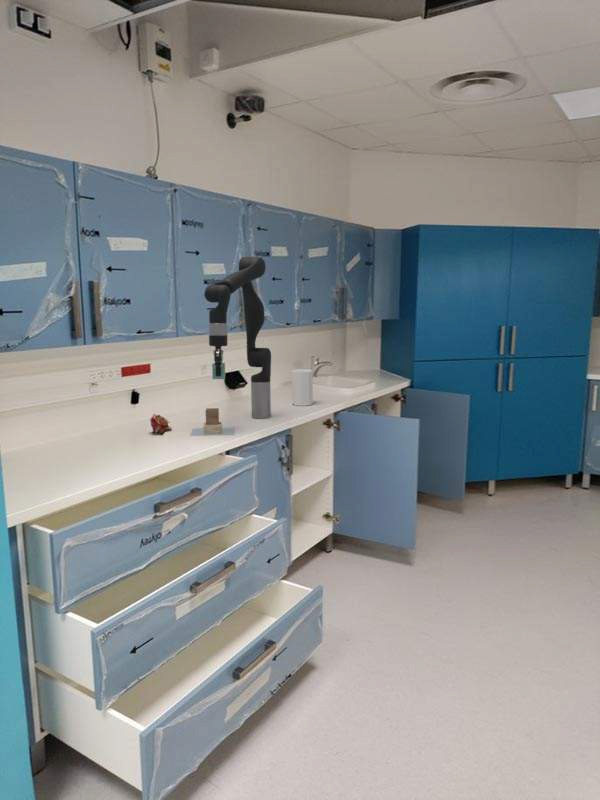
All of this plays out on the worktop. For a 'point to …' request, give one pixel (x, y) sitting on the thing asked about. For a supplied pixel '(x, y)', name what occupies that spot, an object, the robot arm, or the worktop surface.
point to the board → (201, 433)
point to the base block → (212, 429)
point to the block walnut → (212, 416)
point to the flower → (159, 424)
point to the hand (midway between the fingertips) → (218, 375)
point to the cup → (302, 387)
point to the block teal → (221, 371)
